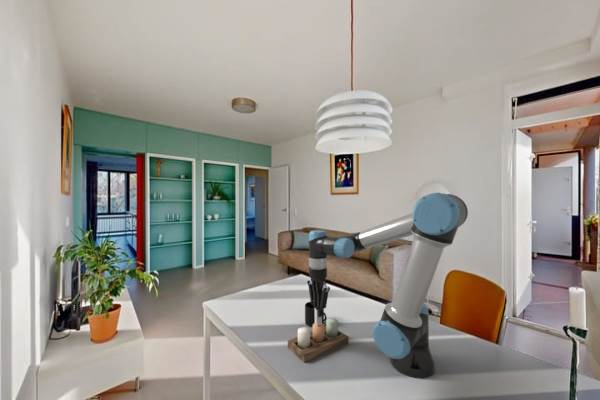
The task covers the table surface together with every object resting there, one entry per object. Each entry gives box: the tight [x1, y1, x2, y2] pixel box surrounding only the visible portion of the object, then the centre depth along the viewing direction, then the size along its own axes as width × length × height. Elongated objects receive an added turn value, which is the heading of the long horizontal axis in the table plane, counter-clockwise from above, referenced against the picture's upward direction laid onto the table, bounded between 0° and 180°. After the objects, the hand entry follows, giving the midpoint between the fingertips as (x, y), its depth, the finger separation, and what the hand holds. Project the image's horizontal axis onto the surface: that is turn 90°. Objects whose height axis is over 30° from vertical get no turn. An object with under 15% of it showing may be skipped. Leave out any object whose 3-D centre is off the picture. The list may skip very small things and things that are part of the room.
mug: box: [304, 301, 328, 328], centre depth 126 cm, size 9×12×9 cm
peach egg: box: [312, 323, 325, 344], centre depth 106 cm, size 5×5×6 cm
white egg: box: [297, 326, 311, 350], centre depth 102 cm, size 5×5×6 cm
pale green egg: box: [325, 317, 339, 338], centre depth 111 cm, size 5×5×6 cm
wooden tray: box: [287, 326, 350, 364], centre depth 106 cm, size 12×23×3 cm, turn 123°
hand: (318, 323), depth 107 cm, fingers closed
